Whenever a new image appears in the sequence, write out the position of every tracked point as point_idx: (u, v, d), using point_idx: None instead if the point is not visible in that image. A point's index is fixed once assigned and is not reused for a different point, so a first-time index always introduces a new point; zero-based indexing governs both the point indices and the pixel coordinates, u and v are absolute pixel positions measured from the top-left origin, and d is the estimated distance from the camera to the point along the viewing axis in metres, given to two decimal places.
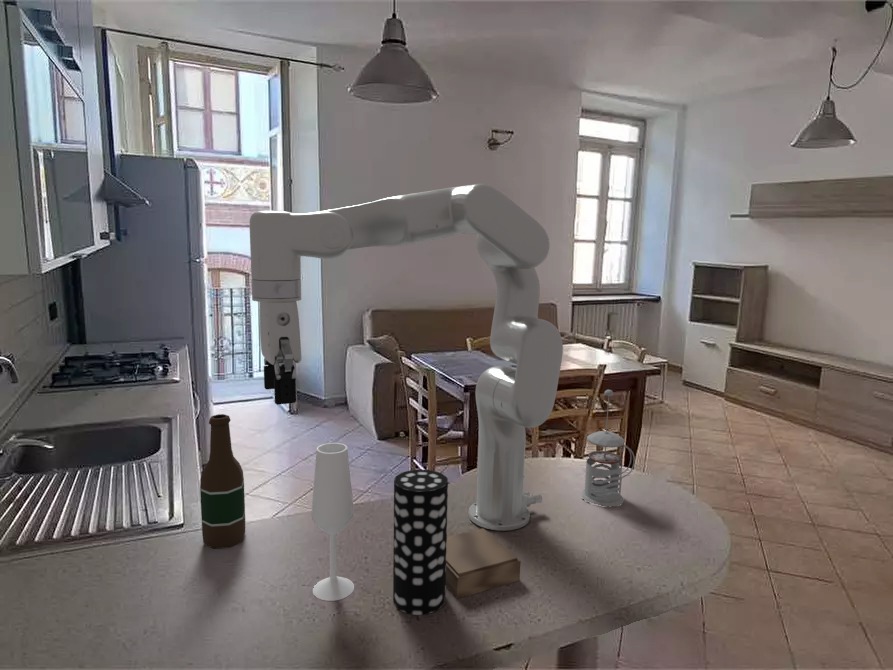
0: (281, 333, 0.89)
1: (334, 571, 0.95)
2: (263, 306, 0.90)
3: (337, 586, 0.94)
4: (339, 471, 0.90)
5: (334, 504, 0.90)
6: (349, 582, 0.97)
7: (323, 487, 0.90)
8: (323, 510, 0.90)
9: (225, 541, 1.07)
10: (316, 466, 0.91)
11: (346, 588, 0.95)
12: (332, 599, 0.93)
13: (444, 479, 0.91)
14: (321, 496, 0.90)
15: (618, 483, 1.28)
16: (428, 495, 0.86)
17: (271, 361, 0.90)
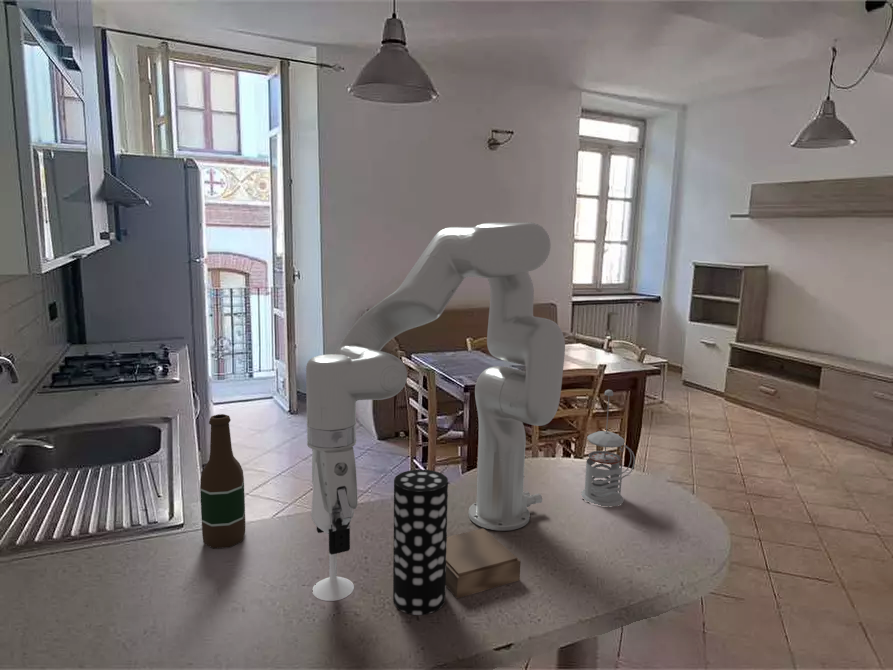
0: (338, 483, 0.88)
1: (334, 571, 0.95)
2: (320, 454, 0.89)
3: (337, 586, 0.94)
4: None
5: None
6: (349, 582, 0.97)
7: None
8: (323, 510, 0.90)
9: (225, 541, 1.07)
10: (316, 466, 0.91)
11: (346, 588, 0.95)
12: (332, 599, 0.93)
13: (444, 479, 0.91)
14: (320, 496, 0.90)
15: (618, 483, 1.28)
16: (428, 495, 0.86)
17: (328, 511, 0.88)
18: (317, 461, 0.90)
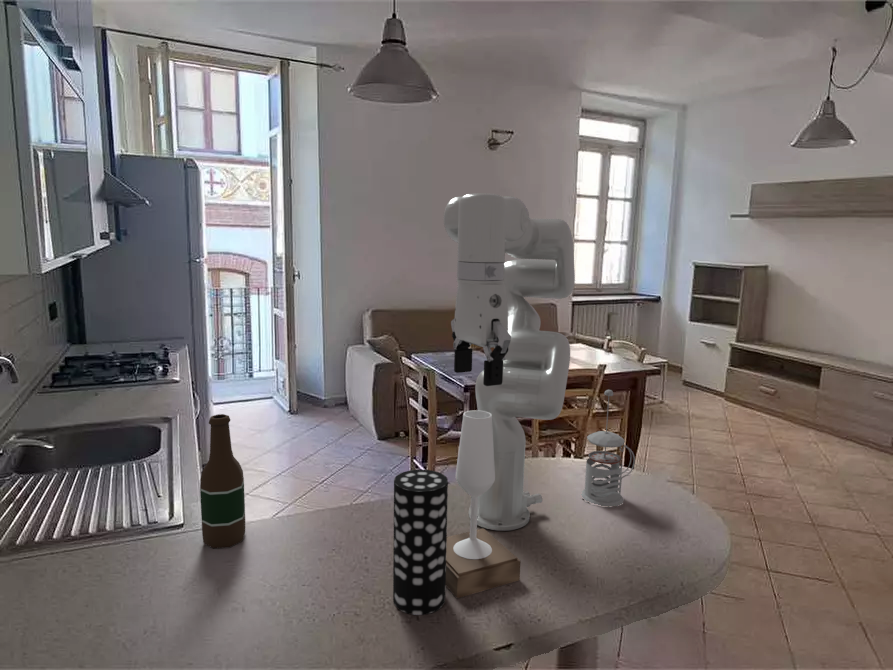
0: (493, 315, 0.90)
1: (474, 532, 1.00)
2: (473, 288, 0.91)
3: (478, 546, 1.00)
4: (486, 435, 0.96)
5: (481, 467, 0.96)
6: (486, 543, 1.02)
7: (472, 450, 0.95)
8: (472, 472, 0.96)
9: (225, 541, 1.07)
10: (464, 431, 0.96)
11: (486, 548, 1.00)
12: (475, 558, 0.98)
13: (444, 479, 0.91)
14: (469, 459, 0.96)
15: (618, 483, 1.28)
16: (428, 495, 0.86)
17: (482, 343, 0.90)
18: (468, 298, 0.92)
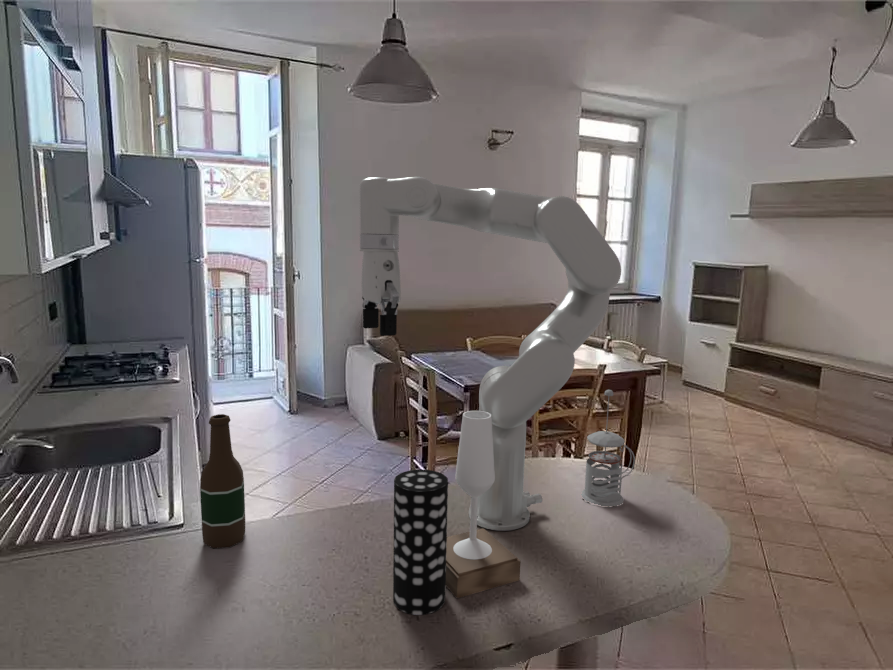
0: (386, 277, 1.10)
1: (474, 532, 1.00)
2: (371, 255, 1.11)
3: (478, 546, 1.00)
4: (486, 436, 0.96)
5: (481, 467, 0.96)
6: (486, 543, 1.02)
7: (471, 451, 0.95)
8: (471, 473, 0.96)
9: (225, 541, 1.07)
10: (463, 431, 0.96)
11: (486, 548, 1.00)
12: (475, 558, 0.98)
13: (444, 479, 0.91)
14: (469, 460, 0.96)
15: (618, 483, 1.28)
16: (428, 495, 0.86)
17: (378, 300, 1.10)
18: (368, 263, 1.12)
